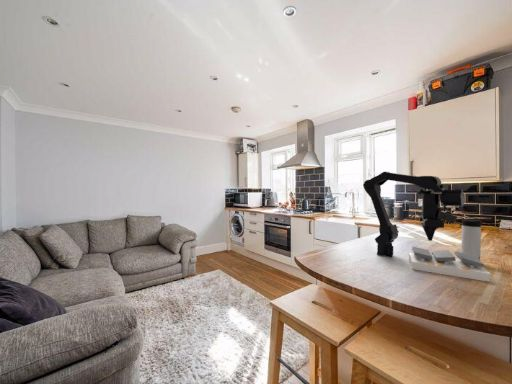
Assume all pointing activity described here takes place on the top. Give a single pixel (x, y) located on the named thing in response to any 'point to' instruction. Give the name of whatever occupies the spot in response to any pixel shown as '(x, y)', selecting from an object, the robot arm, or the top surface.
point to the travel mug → (471, 237)
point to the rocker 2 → (443, 255)
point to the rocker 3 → (468, 259)
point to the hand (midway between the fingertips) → (430, 240)
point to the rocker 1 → (422, 253)
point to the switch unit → (449, 268)
